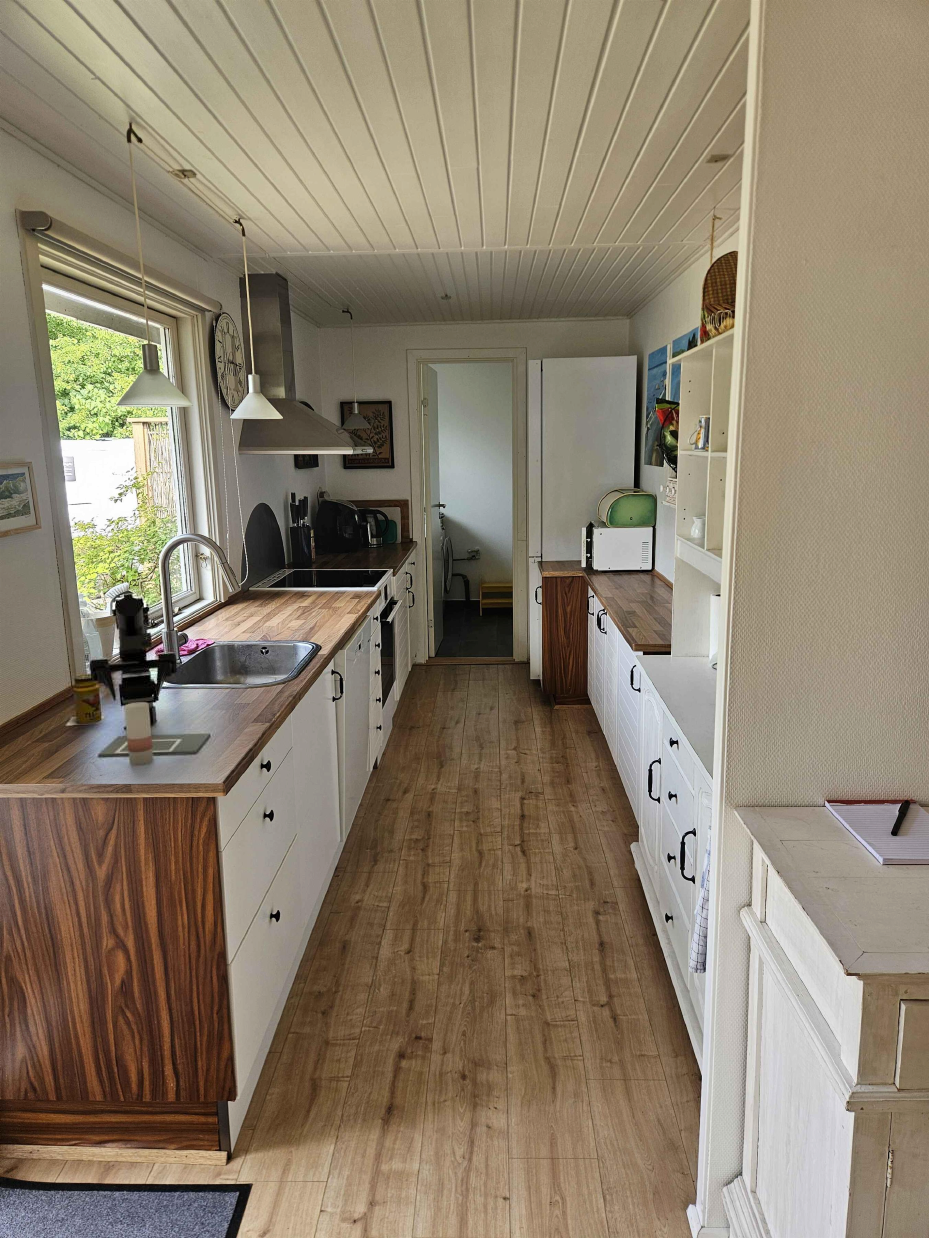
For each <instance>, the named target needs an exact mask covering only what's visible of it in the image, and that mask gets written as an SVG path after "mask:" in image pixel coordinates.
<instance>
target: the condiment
mask: <svg viewBox="0 0 929 1238" xmlns="http://www.w3.org/2000/svg"><path fill="white" fill-rule="evenodd" d="M73 680H74V684H73V685H74V687H73V698H74V699H73V700H74V705H75V706H74V709H75V715H76V716H72V717H70V720H69V721H68V722H67V723H66V724H65V727H66V726H67V727H69V726H79V725H82V726H83V725H94V724H95V725H96V724H97V725H98V724H100V723H101V724H102V721H104V719H105V717H106V714H103V715H102V708H101V707H102V706H101V695H100V686H99V685H98V684H97V683H98V681H93V680H92V677H91V673H90V674H81V675H77V676H75V677H74V678H73Z"/></svg>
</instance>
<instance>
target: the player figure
mask: <svg viewBox="0 0 929 1238" xmlns="http://www.w3.org/2000/svg"><path fill="white" fill-rule="evenodd" d="M123 707H124V708H125V709H124V717H125V718H124V720H125V719H126V720H125V726H126V729H125V730H126V736H127V744H128V752H129V756H128V760H129V761H128V762H129V765H132V766H144V765H148V764H150V763H152V762H153V761H154V755H153V750H152V736H151V735H152V729H151V728H152V727H150V715H149V704H148V703H146V702H136V703H130V704H127V705H125V706H123Z"/></svg>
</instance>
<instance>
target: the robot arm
mask: <svg viewBox="0 0 929 1238" xmlns="http://www.w3.org/2000/svg"><path fill="white" fill-rule="evenodd" d="M114 599H115V602H112V616H113V618H115V625H116V626H115V627H116V630H117V629H118V639H119V640H118V641H119V648H118V649H119V650H118V652H119V653H118V654H119V655H118V656H119V659H120V662H119V661H118V662H109V658H108V657H103V658H102V657H100V658H92V659H91V660H90V661H89V671H90V674H91V677H92V680H93V681H97V683H98V684H103V685H104V686H105V688H106V689H107V690H108V692H109V694H110V695H111V697H112V698H111V699H112V700H113V701H116V700H117V698H116V697H117V696H116V690H115V687H114V686H115V685H114V680H113V678H112V677H113V676H112V673H114V672H115V673H116V672H121V673H120V676H121V677H120V679H121V681H119V682H118V693H119V701H120V702H119V704H120V707H124V706H125V705H127V704H130V703H136V702H146V703H148V704H149V715H150V727H151V728H152V727H153V726H154V725H155V724H156V723H157V721H158V720H157V719H158V718H157V709H156V705H154V703H157V702H159V701H160V698H159V697H160V696H159V695H161V694H160V693H161V690H162V688H163V685H164V683H165V682H166V680H167V678H169V677H172V675H173V674H176V673H178V670H177V669H178V668H177V654H176V653H175V652H173V651H170V652H169V651H167V652H158V653H157V658H158V659H148V658H147V648H153V643H152V632H148V629H147V628H148V627H149V626H150V620H149V619H150V618H149V612H150V604H148V602H147V601H146V600H144V598H143V596H141V594H138V593H124V594H122V595H119V597H115V598H114ZM153 669H156V671H157V672H156V681H155V679H154V678H152V675H151V674H152V673H151V670H153ZM123 710H125V708H124V709H123ZM124 720H125V721H126V719H125V718H124ZM123 730H126V725H124V726H123Z"/></svg>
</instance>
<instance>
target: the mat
mask: <svg viewBox="0 0 929 1238" xmlns="http://www.w3.org/2000/svg"><path fill="white" fill-rule="evenodd" d="M151 736H152V750H153V756H161V755H164V756H167V755H168V756H169V755H191V754H193V755H194V754H195V755H196V754H198V752H199V750H201V748H202V747H203V745H204V744H205V743H206V742H207V741H208V739H209V738H210V737H211V733H185V734H184V733H182V734H181V733H180V734H179V733H177V734H175V733H173V734H151ZM126 756H127V757H129V752H128V744H127V735H119V736H117V737H116V738H114V740H113V741H111V742H110V743H109V744H108V745H107V746H106V747H105V748H104V749H102V750H101V751H100V752H99V753H97V757H100V758H102V757H126Z"/></svg>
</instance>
